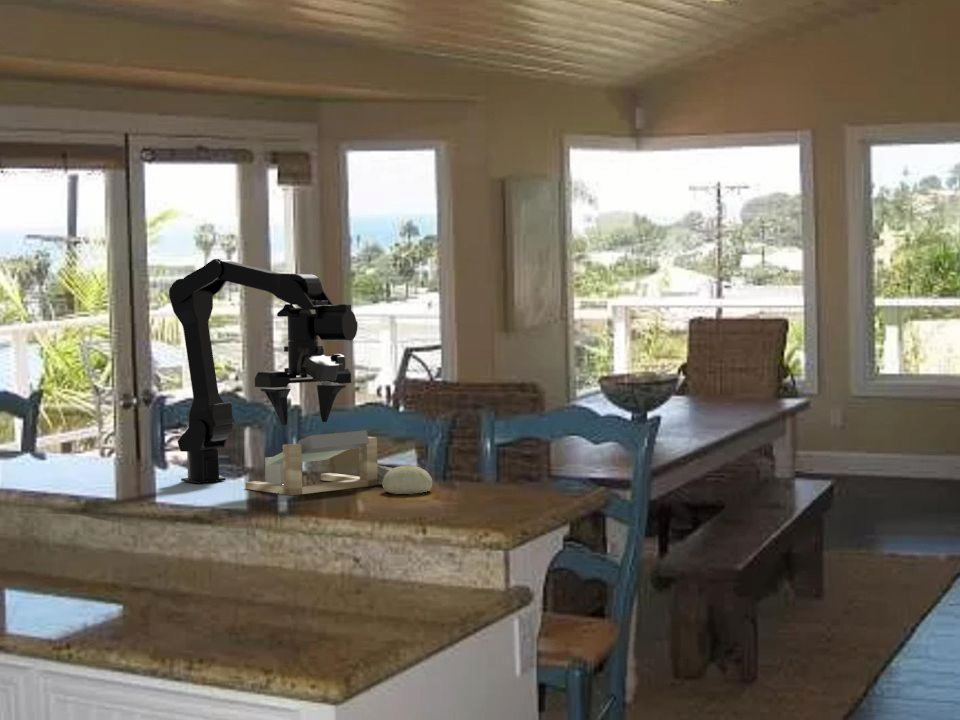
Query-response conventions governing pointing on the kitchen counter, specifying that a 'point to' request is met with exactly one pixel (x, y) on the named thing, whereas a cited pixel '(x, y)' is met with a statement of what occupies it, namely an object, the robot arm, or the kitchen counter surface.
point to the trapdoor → (325, 446)
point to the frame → (338, 481)
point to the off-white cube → (274, 473)
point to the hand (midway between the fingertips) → (304, 423)
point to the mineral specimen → (382, 473)
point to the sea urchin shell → (407, 480)
